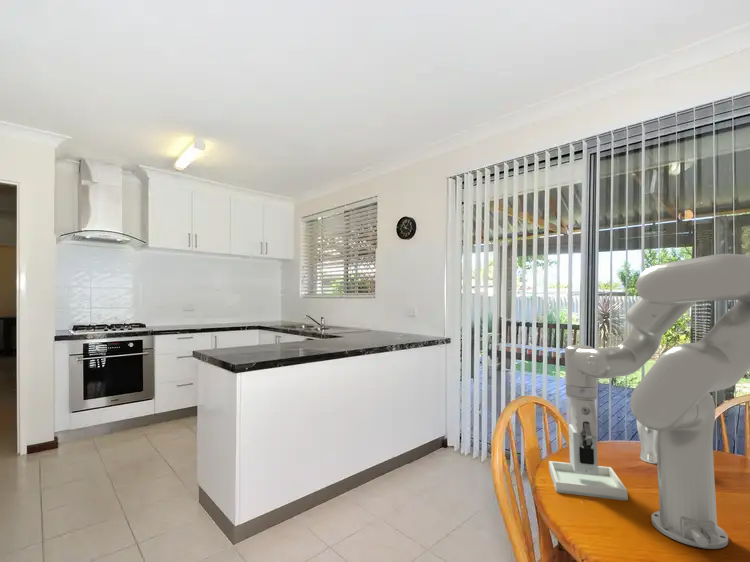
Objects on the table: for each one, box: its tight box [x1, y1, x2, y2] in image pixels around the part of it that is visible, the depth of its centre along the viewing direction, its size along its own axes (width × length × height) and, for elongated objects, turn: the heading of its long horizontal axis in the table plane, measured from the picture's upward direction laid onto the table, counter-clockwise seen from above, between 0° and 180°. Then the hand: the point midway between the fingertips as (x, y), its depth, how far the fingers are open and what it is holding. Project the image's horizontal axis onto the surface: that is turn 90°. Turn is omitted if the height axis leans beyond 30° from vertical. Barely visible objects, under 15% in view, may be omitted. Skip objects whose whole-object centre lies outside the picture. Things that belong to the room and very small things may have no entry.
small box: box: [568, 423, 599, 475], centre depth 105 cm, size 8×6×10 cm
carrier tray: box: [548, 460, 629, 502], centre depth 104 cm, size 14×16×2 cm
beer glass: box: [636, 420, 657, 465], centre depth 119 cm, size 7×7×15 cm
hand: (583, 456), depth 104 cm, fingers closed on small box, 8 cm apart
